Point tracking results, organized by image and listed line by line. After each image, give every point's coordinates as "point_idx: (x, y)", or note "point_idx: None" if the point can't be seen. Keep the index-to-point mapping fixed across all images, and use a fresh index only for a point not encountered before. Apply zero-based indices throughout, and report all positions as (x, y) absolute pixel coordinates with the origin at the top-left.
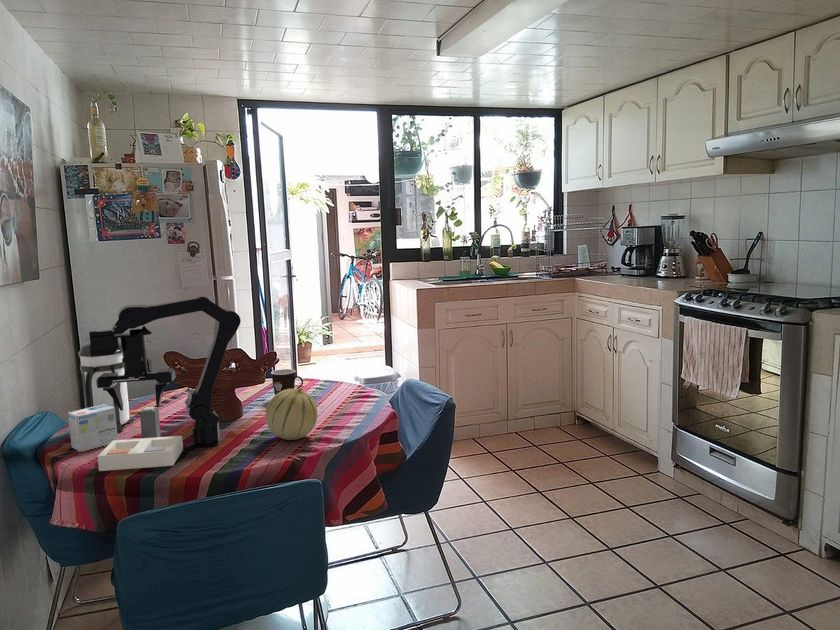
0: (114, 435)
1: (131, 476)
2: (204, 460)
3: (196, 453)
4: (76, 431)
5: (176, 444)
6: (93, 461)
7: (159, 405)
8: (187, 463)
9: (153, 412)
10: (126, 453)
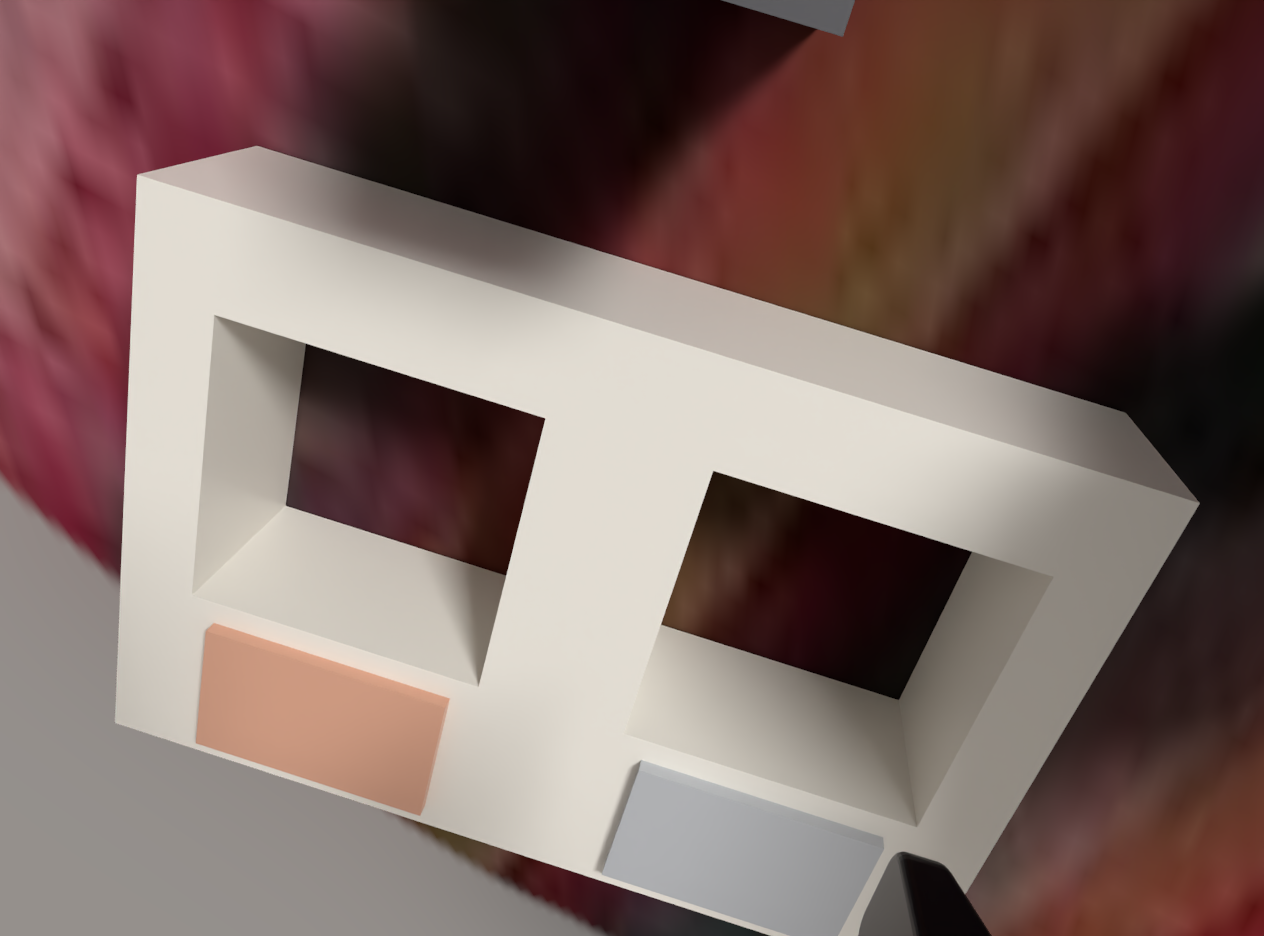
0: None
1: (520, 878)
2: (1232, 872)
3: (1233, 636)
4: None
5: (1015, 803)
6: (72, 290)
7: (954, 880)
8: (1043, 857)
9: (802, 18)
10: (415, 804)
